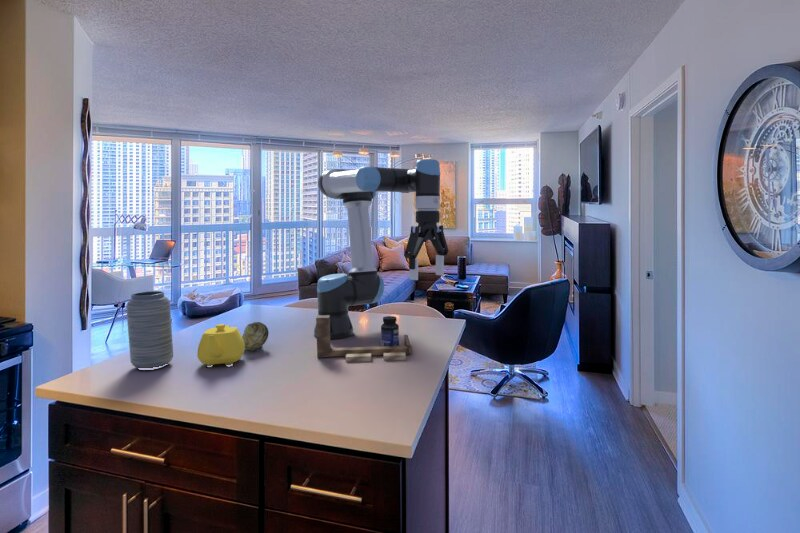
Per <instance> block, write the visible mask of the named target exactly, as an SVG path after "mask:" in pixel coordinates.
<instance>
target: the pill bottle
mask: <svg viewBox="0 0 800 533" xmlns="http://www.w3.org/2000/svg"><path fill="white" fill-rule="evenodd" d="M399 330H400V329H399V324H398V323H397V317H396V316H394V315H393V316H392V315H391V316H387V315H386V316H383V317H382V324H381V326H380V336H381V337H380V343H381V346H400V341H399V337H400V336H399V335H400V331H399ZM381 346H380V347H381Z"/></svg>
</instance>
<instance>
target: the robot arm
mask: <svg viewBox="0 0 800 533" xmlns="http://www.w3.org/2000/svg"><path fill="white" fill-rule="evenodd" d="M317 180H318V181H317V183H318V184H317V185H318V189H319V191H320V192H321V193H322V194H323V195H324V196H325V197H327V198H328V199H329V198H331V199H334V200H342V205H343V206H344V207H345V208H346V209H347V210H346V211H347V221H348V222H347V223H348V235H349V248H350V249H349V250H350V262H351V268H350V269H349V271H348V274H347V273H343V272H342V273H332V274H327V275H323V276H322V277H320V278H319V279H318V280H317V288H316V292H317V293H316V295H317V316H318V315H330V340H338V339H344V338H348V337H351V336H353V335H354V328H353V325H352V321H351V318H350V316H349V307H352V306H361V305H371V304H375V303H377V302H379V301H380V300H381V299H382V297H383V294H384V290H385V282H384V279H383V277H382V275H381V274H378V269H377V268H376V267H374V262H373V260H374V259H373V249H372V236H371V223H370V210H369V208H370V206H371V205H372V203H373V199H375V197H376V195H377V192H383V193H384V192H389V193H390V192H391V193H400V194H410V193H415V209H416V211H415V223H417V224H418V225H411V226H410V234H409V237H408V241H407V243H406V247H405V249H404V254H403V256H404V257H405V258H406V259H408V269H409V280H412V281H418V280H419V259H418V258H417V257H418V256H419V253H420V251H421V249H422V247H423V245H424V243H425V242H427V241H430V243H431V244H432V246H433V248H434V250H435V252H436V254H435V275H436V276H444V275H445V274H444V272H445V271H444V270H445V269H444V267H445V256H447V255H448V254H449V251H450V250H449V247H448V244H447V240H446V236H445V232H444V226H443V225H442V224H441V225H439V224H438V223H440V217H441V216H440V212H441V211H440V210H439V209H440V196H441V195H440V194H441V167H440V161H439V160H437V159H434V158H433V159H431V158H429V159H428V158H425V159H417V161H416V162H415V167H414V168H399V167H398V168H396V167H395V168H394V167H383V166H382V167H381V166H380V167H379V166H372V165H371V166H370V165H367V166H361V167H359V168H358V169H340V168H331V169H328V170H324V171H323V172H322V173H321V174H320V176H319V177H318V179H317ZM313 336H314V337H315V338H317V331H316V324H315V325H314V331H313Z"/></svg>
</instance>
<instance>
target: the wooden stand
mask: <svg viewBox="0 0 800 533" xmlns="http://www.w3.org/2000/svg"><path fill="white" fill-rule="evenodd" d="M315 325H316V331H317V337H316V356H317V358H330V357H346V354H365V353H371V356H384V353H400V352H405V354H406V355H411V354H412V344H411V342H410V338H409V334H404V335H403V338H404V340H403V341H404V342H403V344H404V345H399V346H351V347H349V346H348V347H331V346H332V345H331V339H330V315H318V314H317V315H316V318H315Z"/></svg>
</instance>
